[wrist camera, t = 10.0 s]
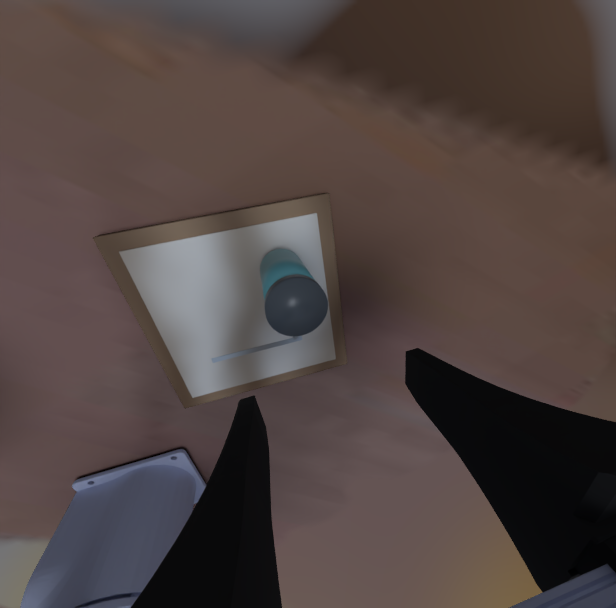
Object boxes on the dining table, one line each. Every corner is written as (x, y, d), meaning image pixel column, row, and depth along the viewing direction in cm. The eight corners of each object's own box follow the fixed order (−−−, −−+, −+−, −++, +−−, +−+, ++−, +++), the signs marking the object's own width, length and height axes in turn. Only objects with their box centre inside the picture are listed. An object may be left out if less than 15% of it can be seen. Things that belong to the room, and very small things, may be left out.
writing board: (186, 401, 22) (184, 410, 21) (99, 235, 15) (90, 238, 14) (344, 358, 23) (348, 365, 22) (325, 192, 17) (330, 193, 16)
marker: (264, 291, 18) (273, 343, 12) (253, 250, 17) (257, 287, 11) (304, 281, 18) (331, 327, 12) (297, 241, 17) (323, 272, 11)
